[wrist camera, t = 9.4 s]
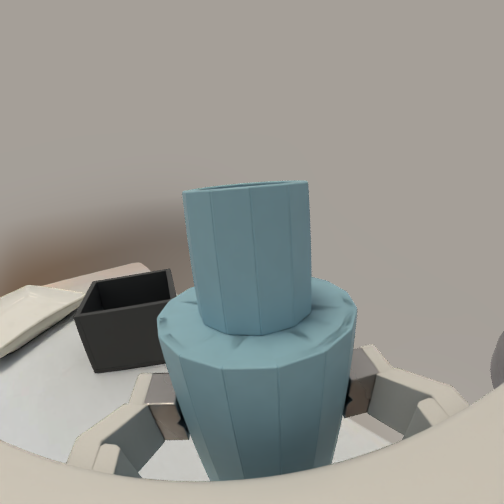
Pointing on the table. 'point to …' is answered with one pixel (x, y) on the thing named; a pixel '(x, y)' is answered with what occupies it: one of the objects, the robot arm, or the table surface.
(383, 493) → the robot arm
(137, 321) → the bin
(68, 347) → the table surface
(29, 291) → the square plate
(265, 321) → the bottle
